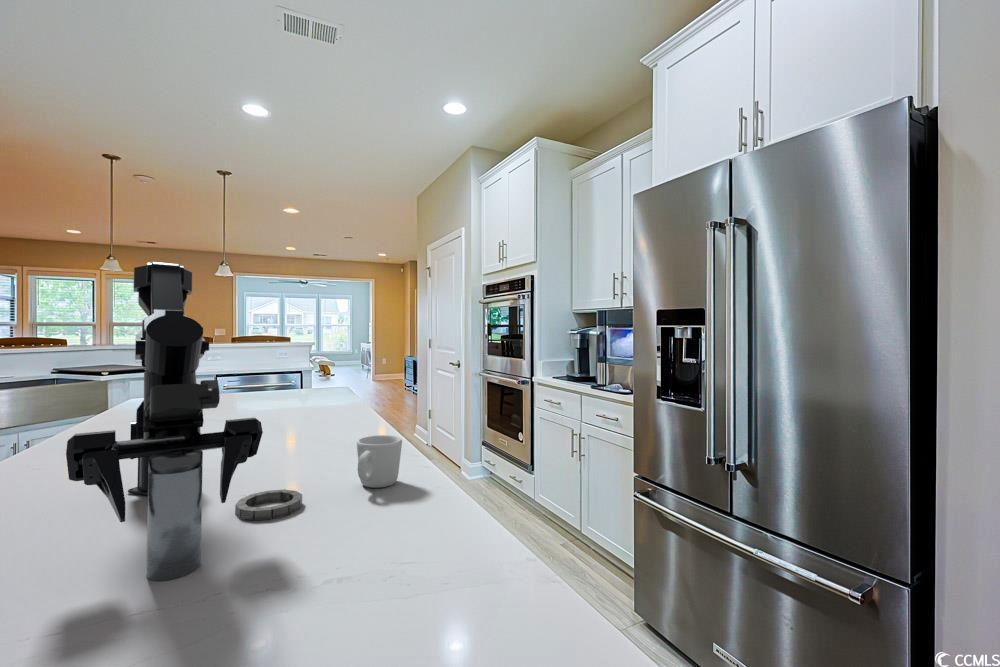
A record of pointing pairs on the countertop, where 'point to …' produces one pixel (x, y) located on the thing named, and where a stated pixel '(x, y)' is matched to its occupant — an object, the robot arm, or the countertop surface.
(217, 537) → the countertop surface
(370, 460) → the cup
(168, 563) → the dark grey metallic cylinder
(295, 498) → the ring
